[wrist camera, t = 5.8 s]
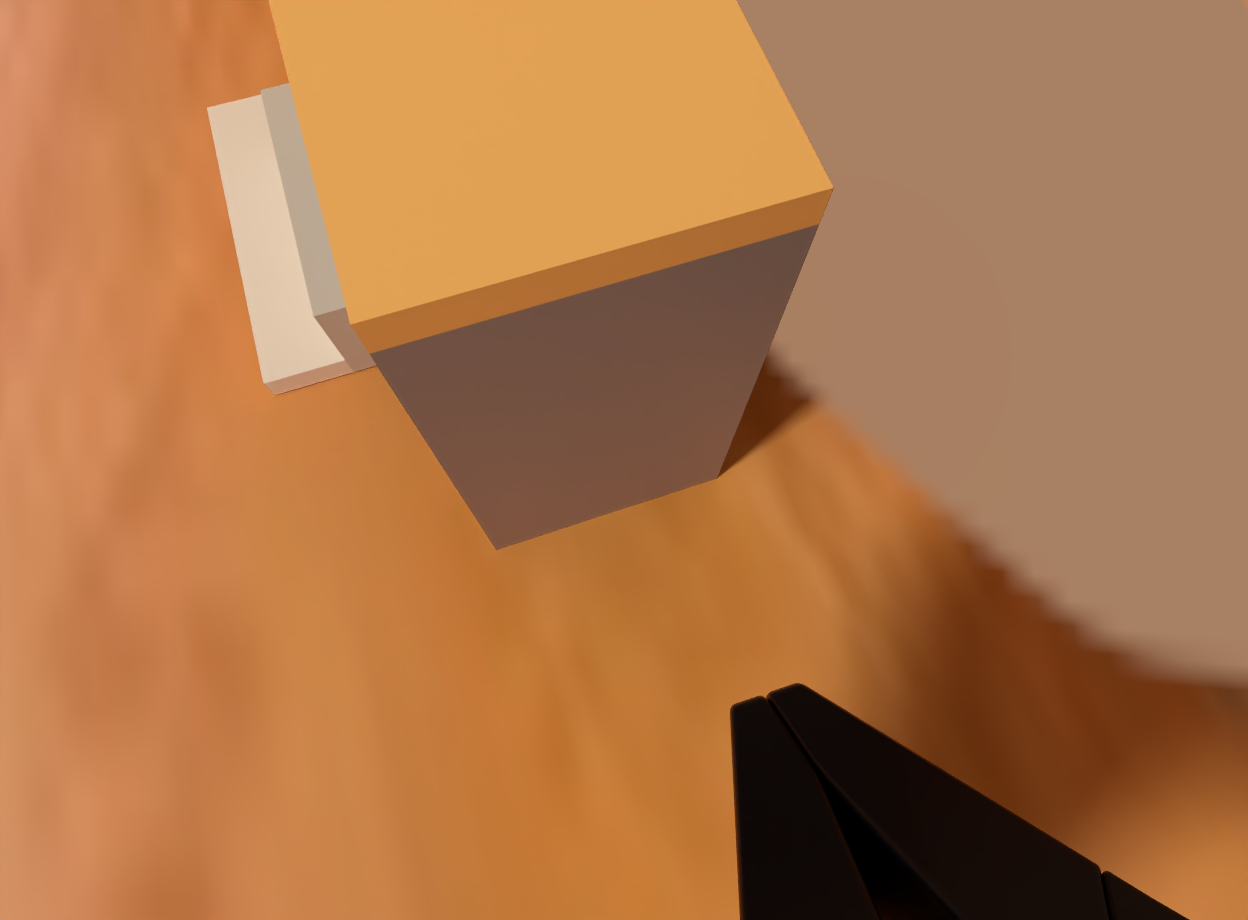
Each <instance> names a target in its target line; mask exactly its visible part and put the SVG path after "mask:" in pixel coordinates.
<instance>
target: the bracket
mask: <svg viewBox="0 0 1248 920" xmlns="http://www.w3.org/2000/svg"><path fill="white" fill-rule="evenodd" d="M260 91H261V95H257V96H253V97H249V98H245V99H241V100H237V101H233V102H229V103H225V104H221V105H216V106H212V107H208V108H207V110H208V115H209V120H210V125H211V130H212V134H213V139H214V144H215V149H216V154H217V159H218V164H219V169H220V174H221V178H222V183H223V188H224V193H225V198H226V203H227V208H228V213H229V217H230V222H231V227H232V232H233V237H234V242H235V247H236V252H237V257H238V261H239V266H240V271H241V276H242V281H243V286H244V291H245V296H246V301H247V305H248V310H249V315H250V320H251V325H252V330H253V335H254V340H255V345H256V349H257V354H258V359H259V364H260V369H261V374H262V379H263V384H264V385H265V386H266V387H267V388H268V389H269V390H270V391H271V392H272V393H273V394H274V395H277V394H281V393H284V392H287V391H291V390H294V389H298V388H301V387H305V386H308V385H311V384H315V383H318V382H322V381H325V380H329V379H332V378H336V377H339V376H342V375H346V374H349V373H353V372H356V371H360V370H363V369H366V368H370V367H373V366H377V365H376V364H375V362H374V361H373V359H372V357H371V356H370V354H369V353H368V351H367V350H366V348H365V347H364V345H363V344H362V342H361V340H360V339H359V337H358V336H357V334H356V333H355V331H354V330H353V328H352V327H351V325H350V322H349V318H348V314H347V310H346V306H345V302H344V298H343V294H342V290H341V286H340V282H339V278H338V274H337V270H336V266H335V262H334V258H333V254H332V250H331V246H330V242H329V239H328V235H327V231H326V227H325V223H324V219H323V215H322V211H321V207H320V203H319V199H318V195H317V191H316V187H315V183H314V179H313V175H312V171H311V167H310V163H309V159H308V155H307V151H306V147H305V143H304V139H303V135H302V132H301V128H300V124H299V120H298V116H297V112H296V108H295V104H294V100H293V96H292V92H291V88H290V84H289V83H287V84H283V85H279V86H275V87H271V88H267V89H263V90H260Z"/></svg>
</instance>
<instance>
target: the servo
mask: <svg viewBox="0 0 1248 920" xmlns="http://www.w3.org/2000/svg"><path fill="white" fill-rule="evenodd" d="M268 1H269V5H270V9H271V13H272V17H273V21H274V24H275V28H276V32H277V36H278V40H279V44H280V48H281V52H282V56H283V60H284V64H285V68H286V72H287V76H288V80H289V84H290V88H291V92H292V96H293V100H294V104H295V108H296V112H297V116H298V120H299V124H300V128H301V132H302V135H303V139H304V143H305V147H306V151H307V155H308V159H309V163H310V167H311V171H312V175H313V179H314V183H315V187H316V191H317V195H318V199H319V203H320V207H321V211H322V215H323V219H324V223H325V227H326V231H327V235H328V239H329V242H330V246H331V250H332V254H333V258H334V262H335V266H336V270H337V274H338V278H339V282H340V286H341V290H342V294H343V298H344V302H345V306H346V310H347V314H348V318H349V322H350V325H351V327H352V328H353V330H354V331H355V333H356V334H357V336H358V337H359V339H360V340H361V342H362V344H363V345H364V347H365V348H366V350H367V351H368V353H369V354H370V356H371V357H372V359H373V361H374V362H375V364H376V365H377V367H378V368H379V370H380V371H381V373H382V374H383V376H384V377H385V379H386V381H387V382H388V384H389V385H390V387H391V388H392V390H393V391H394V393H395V394H396V396H397V398H398V399H399V401H400V402H401V404H402V405H403V407H404V408H405V410H406V411H407V413H408V414H409V416H410V418H411V419H412V421H413V422H414V424H415V425H416V427H417V428H418V430H419V431H420V433H421V434H422V436H423V438H424V439H425V441H426V442H427V444H428V445H429V447H430V448H431V450H432V451H433V453H434V455H435V456H436V458H437V459H438V461H439V462H440V464H441V465H442V467H443V468H444V470H445V471H446V473H447V475H448V476H449V478H450V479H451V481H452V482H453V484H454V485H455V487H456V488H457V490H458V492H459V493H460V495H461V496H462V498H463V499H464V501H465V502H466V504H467V505H468V507H469V508H470V510H471V512H472V513H473V515H474V516H475V518H476V519H477V521H478V522H479V524H480V525H481V527H482V529H483V530H484V532H485V533H486V535H487V536H488V538H489V539H490V541H491V542H492V544H493V545H494V547H495V549H496V550H498V549H501V548H504V547H507V546H510V545H513V544H516V543H519V542H522V541H525V540H528V539H532V538H535V537H538V536H541V535H544V534H547V533H550V532H553V531H556V530H559V529H562V528H565V527H568V526H572V525H575V524H578V523H581V522H584V521H587V520H590V519H593V518H596V517H599V516H602V515H605V514H608V513H612V512H615V511H618V510H621V509H624V508H627V507H630V506H633V505H636V504H639V503H642V502H645V501H648V500H652V499H655V498H658V497H661V496H664V495H667V494H670V493H673V492H676V491H679V490H682V489H685V488H688V487H691V486H695V485H698V484H701V483H704V482H707V481H710V480H713V479H716V478H717V477H718V475H719V472H720V470H721V467H722V465H723V462H724V460H725V457H726V455H727V452H728V450H729V447H730V445H731V442H732V440H733V437H734V435H735V432H736V430H737V427H738V425H739V422H740V420H741V417H742V415H743V412H744V410H745V407H746V405H747V402H748V400H749V398H750V395H751V393H752V390H753V388H754V385H755V383H756V380H757V378H758V375H759V373H760V370H761V368H762V365H763V363H764V360H765V358H766V355H767V353H768V350H769V348H770V345H771V343H772V340H773V338H774V335H775V333H776V330H777V328H778V325H779V323H780V320H781V318H782V315H783V313H784V310H785V308H786V305H787V303H788V300H789V298H790V295H791V293H792V290H793V288H794V286H795V283H796V281H797V278H798V275H799V273H800V270H801V268H802V266H803V263H804V261H805V258H806V256H807V253H808V250H809V248H810V246H811V243H812V241H813V238H814V236H815V233H816V231H817V228H818V226H819V223H820V221H821V218H822V216H823V213H824V211H825V208H826V206H827V203H828V201H829V198H830V196H831V193H832V191H833V188H834V187H833V185H832V183H831V181H830V179H829V178H828V176H827V174H826V172H825V170H824V168H823V166H822V164H821V162H820V160H819V158H818V156H817V154H816V152H815V151H814V149H813V147H812V145H811V143H810V141H809V139H808V137H807V135H806V133H805V131H804V129H803V127H802V125H801V124H800V122H799V120H798V118H797V116H796V114H795V112H794V110H793V108H792V106H791V104H790V102H789V100H788V98H787V97H786V95H785V93H784V91H783V89H782V87H781V85H780V83H779V81H778V80H777V77H776V75H775V73H774V71H773V70H772V68H771V66H770V64H769V62H768V60H767V58H766V56H765V54H764V52H763V50H762V48H761V46H760V44H759V43H758V41H757V39H756V37H755V35H754V33H753V31H752V29H751V27H750V25H749V23H748V21H747V19H746V18H745V16H744V14H743V12H742V10H741V8H740V6H739V4H738V2H737V0H268Z"/></svg>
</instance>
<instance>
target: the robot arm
mask: <svg viewBox="0 0 1248 920" xmlns="http://www.w3.org/2000/svg"><path fill="white" fill-rule="evenodd" d="M730 723H731V744H732V765H733V786H734V806H735V827H736V848H737V869H738V889H739V910H740V920H1189V919H1187V918H1185V917H1184V916H1182V915H1180V914H1178V913H1177V912H1175V911H1173V910H1172V909H1170V908H1168V907H1167V906H1165V905H1163V904H1161V903H1160V902H1158V901H1156V900H1155V899H1153V898H1151V897H1150V896H1148V895H1146V894H1145V893H1143V892H1141V891H1140V890H1138V889H1136V888H1135V887H1133V886H1132V885H1130V884H1128V883H1127V882H1125V881H1123V880H1122V879H1120V878H1119V877H1117V876H1115V875H1114V874H1112V873H1111V872H1108V871H1104V872H1103V873H1102V875H1101V870H1100V868H1099V866H1098V865H1097V864H1095V863H1094V862H1092V861H1090V860H1089V859H1087V858H1085V857H1084V856H1082V855H1081V854H1079V853H1077V852H1076V851H1074V850H1072V849H1071V848H1069V847H1068V846H1066V845H1064V844H1063V843H1061V842H1059V841H1058V840H1056V839H1055V838H1053V837H1051V836H1050V835H1048V834H1046V833H1045V832H1043V831H1042V830H1040V829H1038V828H1037V827H1035V826H1033V825H1032V824H1030V823H1029V822H1027V821H1025V820H1024V819H1022V818H1020V817H1019V816H1017V815H1015V814H1014V813H1012V812H1011V811H1009V810H1007V809H1006V808H1004V807H1002V806H1001V805H999V804H998V803H996V802H994V801H993V800H991V799H989V798H988V797H986V796H985V795H983V794H981V793H980V792H978V791H976V790H975V789H973V788H972V787H970V786H968V785H967V784H965V783H963V782H962V781H960V780H959V779H957V778H955V777H954V776H952V775H950V774H949V773H947V772H945V771H944V770H942V769H941V768H939V767H937V766H936V765H934V764H932V763H931V762H929V761H928V760H926V759H924V758H923V757H921V756H919V755H918V754H916V753H915V752H913V751H911V750H910V749H908V748H906V747H905V746H903V745H902V744H900V743H898V742H897V741H895V740H893V739H892V738H890V737H889V736H887V735H885V734H884V733H882V732H880V731H879V730H877V729H875V728H874V727H872V726H871V725H869V724H867V723H866V722H864V721H862V720H861V719H859V718H858V717H856V716H854V715H853V714H851V713H849V712H848V711H846V710H845V709H843V708H841V707H840V706H838V705H836V704H835V703H833V702H832V701H830V700H828V699H827V698H825V697H823V696H822V695H820V694H819V693H817V692H815V691H814V690H812V689H810V688H809V687H807V686H805V685H803V684H800V683H795V684H792V685H789V686H786V687H783V688H780V689H777V690H774V691H771V692H770V693H769V694H768V695H767V696H766V698H765V697H763V696H757V697H754V698H751V699H748V700H745V701H742V702H739V703H736V704H734V705H732V707H731V709H730Z"/></svg>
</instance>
